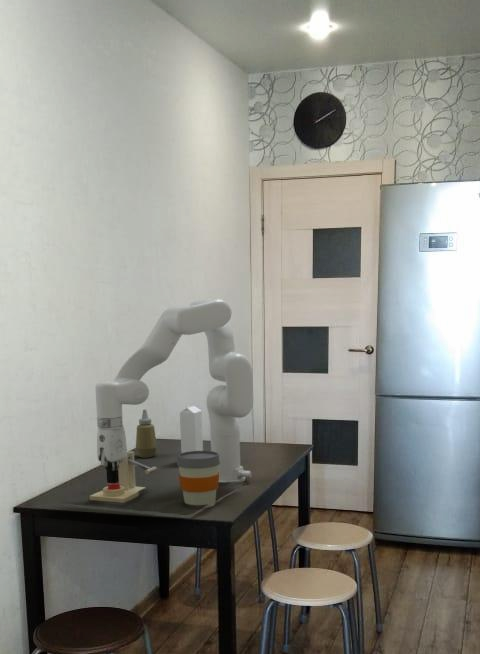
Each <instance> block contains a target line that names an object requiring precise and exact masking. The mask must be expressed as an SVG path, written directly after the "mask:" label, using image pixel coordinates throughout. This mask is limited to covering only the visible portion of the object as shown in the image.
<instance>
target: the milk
mask: <svg viewBox="0 0 480 654" xmlns="http://www.w3.org/2000/svg"><path fill="white" fill-rule="evenodd" d="M202 413H203V412H202V410H201V409H200V408H199V407H197V406H195V401H191V402H188V403H186V408H184V409H183V410H182V411H180V412H179V425H180V426H179V430H180V450H181V452H180V454H181V453H184V452H190V451H204V442H203V441H204V440H203V439H204V438H203V437H204V435H203V414H202Z"/></svg>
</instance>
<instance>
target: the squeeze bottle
mask: <svg viewBox="0 0 480 654" xmlns="http://www.w3.org/2000/svg"><path fill="white" fill-rule="evenodd" d="M135 449H136V453H137V455H138V457H139V458H144V459H145V458H146V459H147V458H148V459H149V458H153V457H155V455H156V452H157V449H158V444H157V437H156V429H155V425H154V424H152V418H149V415H148V411H147V409H143V410H142V415H141V418H140V419H138V425H137V426H136V437H135Z"/></svg>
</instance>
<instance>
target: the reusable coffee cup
mask: <svg viewBox="0 0 480 654" xmlns="http://www.w3.org/2000/svg"><path fill="white" fill-rule="evenodd" d="M176 462H177V463H176V466H177V467H178V471H179V472H178V480H179V485H180V490H181V491H182V495H183V496H182V497H183V502H184V504H186V505H189V506H203V507H202V509H207V508H211V507H214V506H215V505H216V499H217V489H218V488H219V483H220V482H219V472H218V468H219V464H220V460H219V454H218V453H217V452H213V451H211V450H203V451H190V452H184V453H181V452H180V453H179V454H178V455H177V461H176Z"/></svg>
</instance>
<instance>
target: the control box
mask: <svg viewBox="0 0 480 654" xmlns="http://www.w3.org/2000/svg"><path fill="white" fill-rule="evenodd" d="M139 496H140V491H138V492H135V491H125V487H124V486H120V489H116V490H109V489H108V486H104V487H103V488H102V490H100V491H97V492H96V493H93V494H91V495H89V501H99V502H108V503H109V502H110V503H120V504H122V503H123V504H124V503H126V502H127V503H128V502H129V501H131V500H133V499H135V498H138V497H139Z"/></svg>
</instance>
